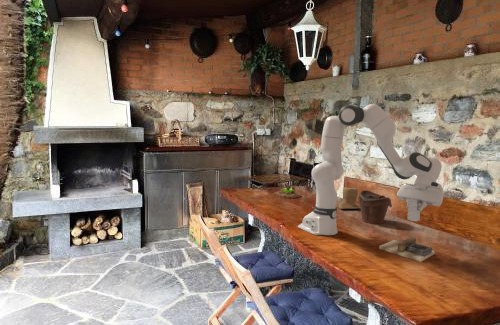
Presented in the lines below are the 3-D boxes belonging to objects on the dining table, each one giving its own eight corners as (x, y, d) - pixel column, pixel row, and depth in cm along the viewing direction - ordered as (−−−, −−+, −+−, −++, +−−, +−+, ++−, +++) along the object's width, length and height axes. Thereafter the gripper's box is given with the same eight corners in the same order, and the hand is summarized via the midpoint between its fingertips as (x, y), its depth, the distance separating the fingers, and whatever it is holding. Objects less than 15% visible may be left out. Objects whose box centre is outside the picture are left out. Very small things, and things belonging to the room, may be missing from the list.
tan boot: (353, 206, 261) (355, 185, 259) (361, 210, 250) (363, 189, 248) (334, 206, 258) (335, 186, 256) (341, 210, 247) (342, 189, 245)
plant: (287, 192, 303) (287, 179, 302) (304, 196, 289) (305, 183, 287) (269, 195, 291) (270, 181, 289) (287, 199, 276) (287, 185, 274)
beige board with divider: (379, 248, 175) (380, 237, 175) (393, 242, 185) (394, 232, 185) (420, 261, 160) (422, 250, 160) (434, 254, 170) (435, 242, 170)
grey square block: (407, 219, 170) (408, 199, 169) (411, 218, 173) (412, 197, 171) (415, 221, 167) (417, 200, 166) (419, 220, 170) (420, 199, 169)
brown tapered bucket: (391, 227, 212) (393, 197, 210) (355, 223, 218) (357, 194, 216) (389, 219, 229) (392, 191, 226) (357, 215, 235) (359, 188, 233)
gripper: (400, 179, 180) (390, 201, 175) (444, 184, 165) (434, 209, 160) (404, 187, 184) (394, 208, 178) (447, 193, 168) (437, 217, 163)
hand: (413, 209), depth 169 cm, fingers closed on grey square block, 4 cm apart
